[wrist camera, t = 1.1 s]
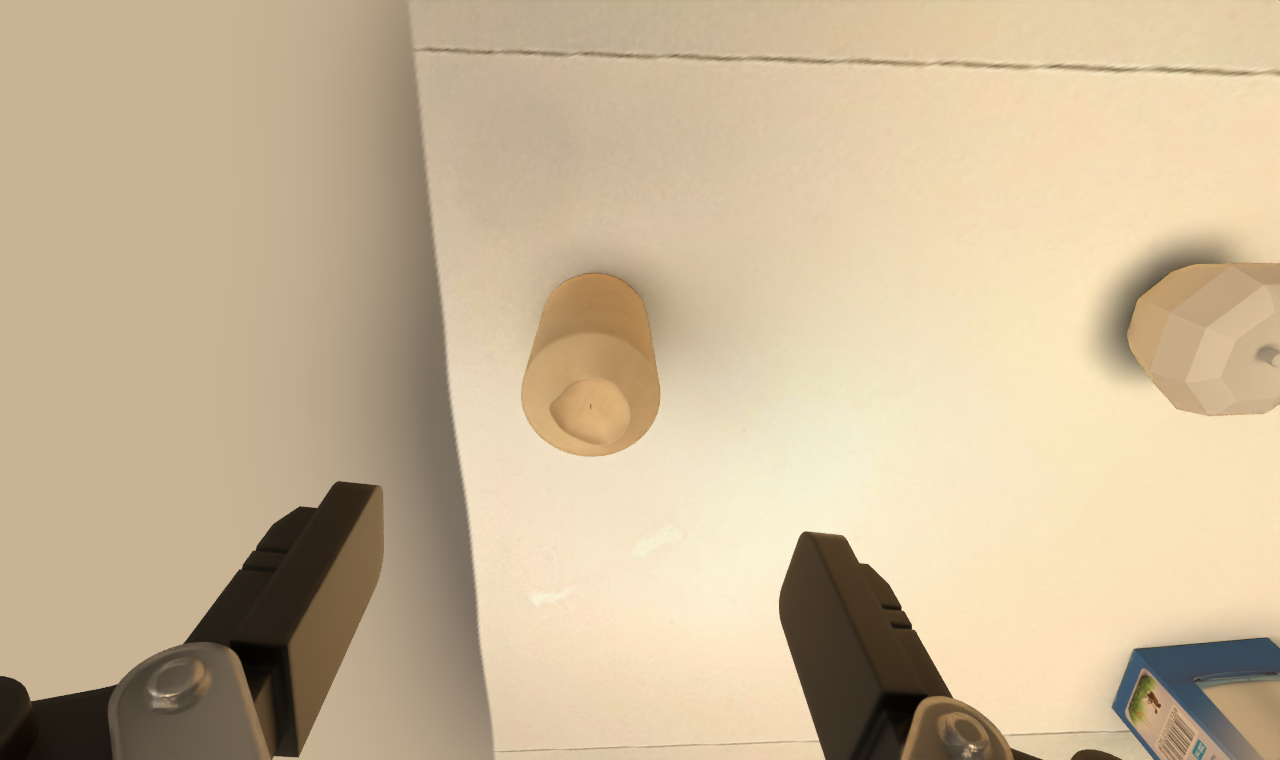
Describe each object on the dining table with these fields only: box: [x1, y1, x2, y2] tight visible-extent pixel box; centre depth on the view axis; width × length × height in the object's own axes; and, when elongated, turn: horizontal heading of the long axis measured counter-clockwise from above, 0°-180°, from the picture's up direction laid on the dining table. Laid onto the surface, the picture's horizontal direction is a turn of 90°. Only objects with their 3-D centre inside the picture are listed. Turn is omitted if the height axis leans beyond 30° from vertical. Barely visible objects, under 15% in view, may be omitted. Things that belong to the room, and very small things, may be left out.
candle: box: [521, 273, 660, 456], centre depth 28 cm, size 6×6×10 cm
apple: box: [1127, 263, 1280, 416], centre depth 31 cm, size 8×8×7 cm
